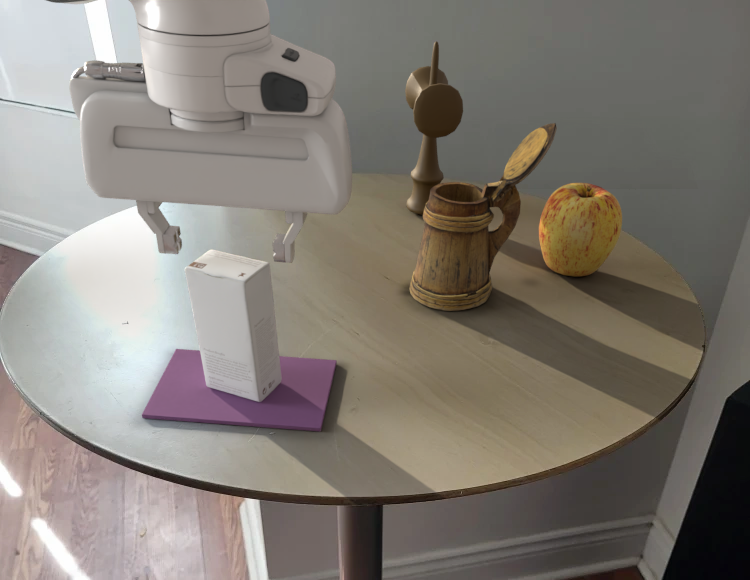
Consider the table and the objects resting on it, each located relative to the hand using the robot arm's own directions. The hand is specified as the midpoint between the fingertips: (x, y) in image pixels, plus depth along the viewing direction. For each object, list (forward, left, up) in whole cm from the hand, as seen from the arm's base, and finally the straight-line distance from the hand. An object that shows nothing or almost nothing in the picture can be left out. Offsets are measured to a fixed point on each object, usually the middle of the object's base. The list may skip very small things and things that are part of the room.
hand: (227, 255), depth 64 cm
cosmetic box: (0, 0, -13) cm, 13 cm away
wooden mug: (+21, +22, -13) cm, 33 cm away
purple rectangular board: (0, 0, -13) cm, 13 cm away
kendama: (+15, +44, -13) cm, 48 cm away
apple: (+33, +29, -13) cm, 46 cm away
